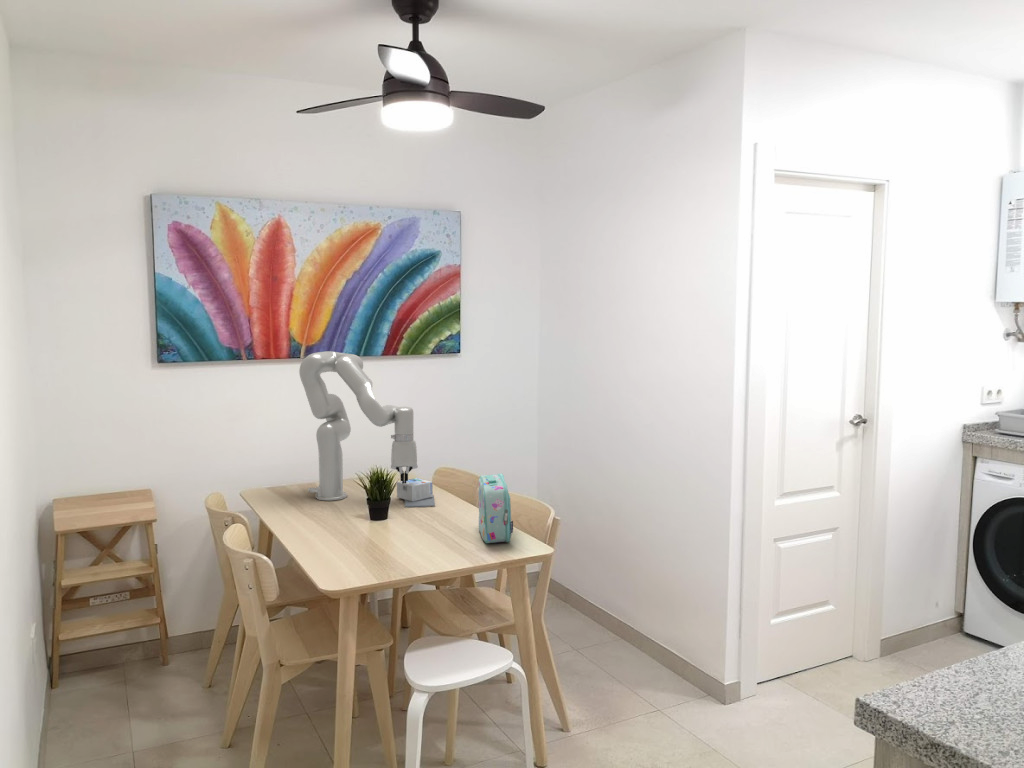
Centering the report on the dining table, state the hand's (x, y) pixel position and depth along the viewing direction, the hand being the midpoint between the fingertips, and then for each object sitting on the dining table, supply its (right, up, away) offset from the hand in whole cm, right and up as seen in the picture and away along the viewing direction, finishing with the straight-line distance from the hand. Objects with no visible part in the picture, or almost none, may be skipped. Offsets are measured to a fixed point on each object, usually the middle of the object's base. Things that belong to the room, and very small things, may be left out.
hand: (404, 482), depth 315 cm
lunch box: (+37, -13, -43) cm, 58 cm away
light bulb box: (0, -4, +2) cm, 5 cm away
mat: (+6, -8, +2) cm, 10 cm away
